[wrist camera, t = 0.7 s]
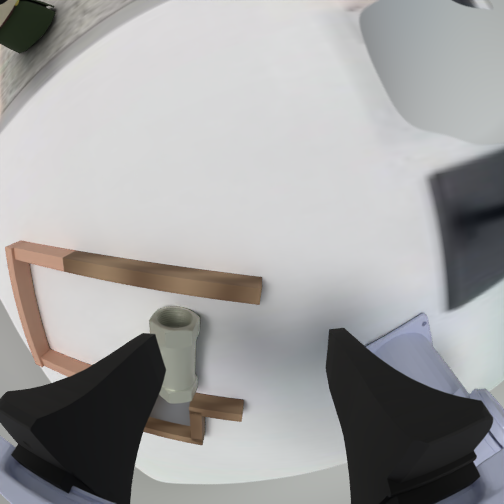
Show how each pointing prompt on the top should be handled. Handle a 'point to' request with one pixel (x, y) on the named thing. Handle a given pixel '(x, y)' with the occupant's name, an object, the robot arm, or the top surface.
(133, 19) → the top surface
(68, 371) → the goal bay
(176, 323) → the pipe fitting
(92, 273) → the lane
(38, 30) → the character mug
